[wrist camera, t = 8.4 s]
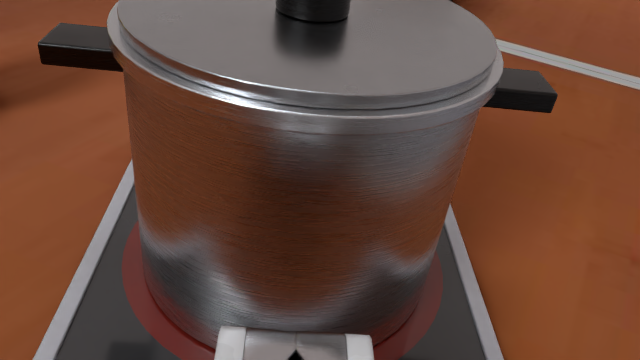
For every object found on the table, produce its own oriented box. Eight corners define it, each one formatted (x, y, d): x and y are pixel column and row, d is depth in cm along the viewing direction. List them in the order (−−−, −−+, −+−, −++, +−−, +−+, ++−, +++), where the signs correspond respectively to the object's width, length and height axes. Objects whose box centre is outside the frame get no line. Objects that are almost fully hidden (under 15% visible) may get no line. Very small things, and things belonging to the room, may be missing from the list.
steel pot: (524, 389, 18) (692, 82, 11) (19, 360, 16) (-98, 1, 10) (449, 182, 27) (519, -47, 21) (125, 154, 26) (98, -97, 20)
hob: (525, 447, 16) (531, 437, 16) (10, 422, 15) (6, 411, 15) (400, 68, 39) (401, 61, 39) (190, 47, 38) (190, 40, 38)
